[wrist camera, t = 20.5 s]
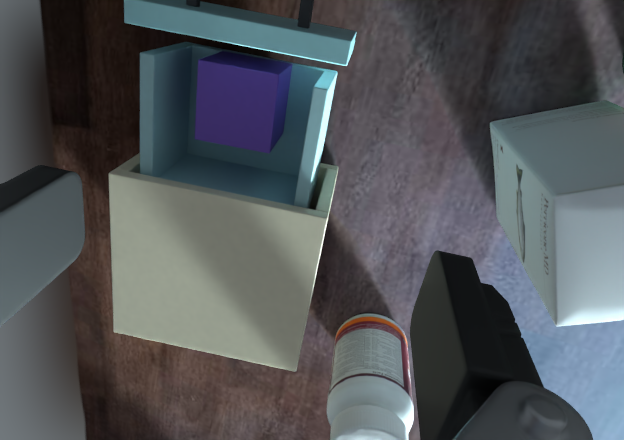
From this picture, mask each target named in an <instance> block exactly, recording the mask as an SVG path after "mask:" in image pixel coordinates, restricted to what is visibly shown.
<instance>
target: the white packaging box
mask: <svg viewBox="0 0 624 440" xmlns="http://www.w3.org/2000/svg"><path fill="white" fill-rule="evenodd" d="M490 132H491V140H492V149H493V159H494V173H495V190H496V217H497V219H498V221H499V222H500V224H501V226H502V228H503V230H504V232H505V234H506V236H507V238H508V239H509V241H510V243H511V245H512V247H513V249H514V250H515V252H516V254H517V256H518V258H519V260H520V261H521V263H522V265H523V267H524V269H525V271H526V272H527V274H528V276H529V278H530V280H531V281H532V283H533V285H534V287H535V288H536V290H537V292H538V294H539V296H540V298H541V299H542V301H543V303H544V305H545V307H546V309H547V310H548V312H549V314H550V316H551V318H552V320H553V321H554V324H555V325H556V326H567V325H578V324H588V323H598V322H608V321H618V320H624V108H622V107H620V106H618V105H615V104H613V103H611V102H609V101H607V100H604V101H598V102H593V103H587V104H582V105H576V106H571V107H566V108H560V109H555V110H550V111H544V112H539V113H534V114H529V115H523V116H518V117H513V118H507V119H502V120H497V121H492V122H490Z"/></svg>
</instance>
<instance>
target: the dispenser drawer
mask: <svg viewBox="0 0 624 440" xmlns="http://www.w3.org/2000/svg"><path fill="white" fill-rule="evenodd" d="M313 3H314V0H301V4H300V11H299V18H298V20H296V19H291V18H285V17H280V16H275V15H270V14H265V13H259V12H254V11H249V10H244V9H239V8H233V7H228V6H223V5H218V4H213V3H207V2H202V1H200V0H124V22H125V23H128V24H133V25H138V26H144V27H149V28H154V29H159V30H164V31H169V32H174V33H179V34H185V35H190V36H195V37H200V38H205V39H210V40H215V41H220V42H226V43H231V44H236V45H241V46H246V47H251V48H256V49H261V50H267V51H272V52H277V53H282V54H287V55H292V56H297V57H302V58H308V59H313V60H318V61H323V62H328V63H333V64H338V65H343V66H347V64H348V62H349V59H350V57H351V54H352V52H353V48H354V43H355V38H356V33H357V32H356V31H353V30H348V29H343V28H337V27H332V26H327V25H322V24H317V23H311V16H312V10H313ZM221 51H226V52H231V53H237V54H242V55H247V56H253V57H258V58H264V59H269V60H275V61H280V62H285V63H291V64H292V72H291V79H290V87H289V94H288V102H287V109H286V117H285V124H284V132H283V134H282V136H281V137H280V139H279V140H278V142H277V143H276V145H275V146H274V148H273V149H272V151H271V152H270V153H264V152H258V151H253V150H248V149H243V148H238V147H232V146H227V145H222V144H217V143H212V142H206V141H201V140H196V139H195V118H196V95H197V73H198V60H199V59H202V58H204V57H207V56H210V55H213V54H216V53H219V52H221ZM336 77H337V71H333V70H328V69H323V68H318V67H313V66H308V65H302V64H297V63H292V62H287V61H282V60H277V59H272V58H267V57H262V56H256V55H251V54H246V53H241V52H236V51H231V50H226V49H221V48H216V47H210V46H205V45H200V44H195V43H190V42H183V43H179V44H175V45H170V46H166V47H162V48H158V49H153V50H149V51H145V52H141V53H140V174H143V175H148V176H153V177H158V178H163V179H168V180H172V181H177V182H182V183H187V184H192V185H197V186H201V187H206V188H211V189H216V190H221V191H226V192H231V193H235V194H240V195H245V196H250V197H255V198H260V199H264V200H269V201H274V202H279V203H284V204H289V205H293V206H298V207H303V208H308V209H309V207H310V204H311V201H312V197H313V194H314V191H315V188H316V184H317V178H318V173H319V168H320V162H321V157H322V152H323V146H324V141H325V136H326V130H327V125H328V120H329V114H330V109H331V104H332V98H333V93H334V87H335V82H336Z"/></svg>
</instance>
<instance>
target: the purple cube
mask: <svg viewBox="0 0 624 440" xmlns="http://www.w3.org/2000/svg"><path fill="white" fill-rule="evenodd" d="M291 72H292V64H291V63H285V62H280V61H275V60H269V59H264V58H258V57H253V56H247V55H242V54H237V53H231V52H226V51H221V52H219V53H216V54H213V55H210V56H207V57H204V58H202V59H199V60H198V73H197V95H196V118H195V139H196V140H201V141H206V142H212V143H217V144H222V145H227V146H232V147H238V148H243V149H248V150H253V151H258V152H264V153H270V152H271V151H272V149H273V148H274V146H275V145H276V143H277V142H278V140H279V139H280V137H281V136H282V134H283V132H284V124H285V117H286V109H287V102H288V94H289V87H290V79H291Z"/></svg>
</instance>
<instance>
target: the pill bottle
mask: <svg viewBox="0 0 624 440" xmlns="http://www.w3.org/2000/svg"><path fill="white" fill-rule="evenodd" d="M410 379H411V378H410V369H409V357H408V346H407V339H406V336H405V334H404V332H403V330H402V329H401V327H400V326H399V325H398V324H397V323H396V322H394V321H393V320H391V319H389V318H387V317H385V316H382V315H378V314H360V315H357V316H354V317H352V318H350V319H348V320H347V321H346V322H344V323H343V324H342V325H341V327H340V328H339V330H338V331H337V334H336V337H335V344H334V353H333V362H332V370H331V379H330V387H329V394H328V400H327V417H328V421H329V423H330V425H331V432H330V440H408V432H409V430H410V428H411V426H412V423H413V416H414V413H413V400H412V391H411V380H410Z"/></svg>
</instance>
